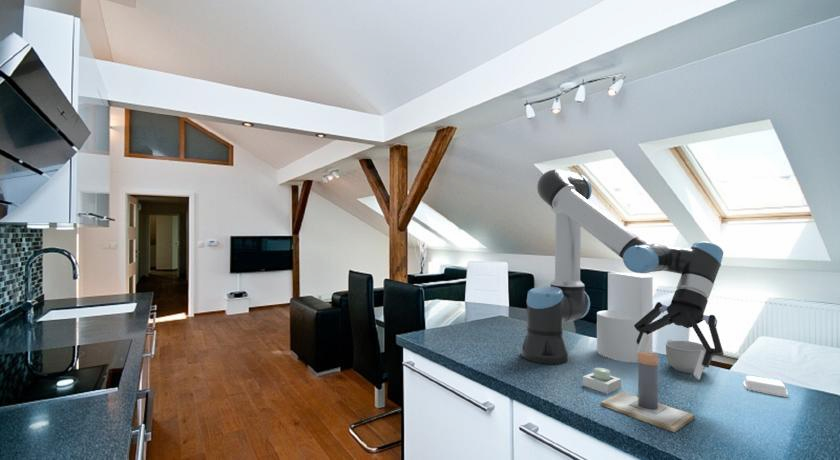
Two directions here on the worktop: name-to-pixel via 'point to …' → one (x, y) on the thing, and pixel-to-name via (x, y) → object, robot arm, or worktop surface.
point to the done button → (602, 374)
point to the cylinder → (624, 316)
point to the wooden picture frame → (648, 412)
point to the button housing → (602, 383)
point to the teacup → (683, 355)
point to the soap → (765, 386)
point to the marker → (648, 380)
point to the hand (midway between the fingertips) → (665, 366)
